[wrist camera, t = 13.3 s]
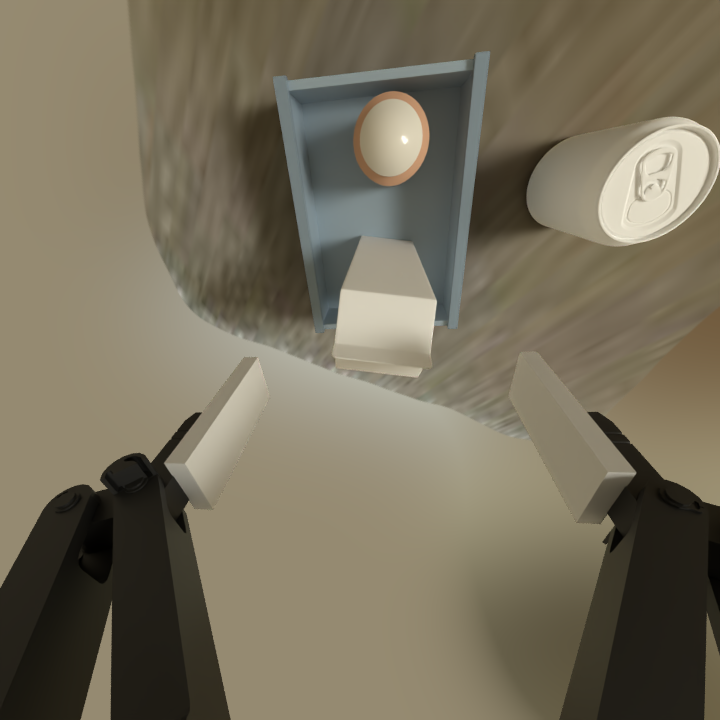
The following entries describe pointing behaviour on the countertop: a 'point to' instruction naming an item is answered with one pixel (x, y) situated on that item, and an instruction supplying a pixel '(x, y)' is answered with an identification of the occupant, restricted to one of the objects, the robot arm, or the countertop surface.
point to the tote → (375, 202)
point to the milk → (385, 310)
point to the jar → (391, 138)
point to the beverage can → (625, 180)
